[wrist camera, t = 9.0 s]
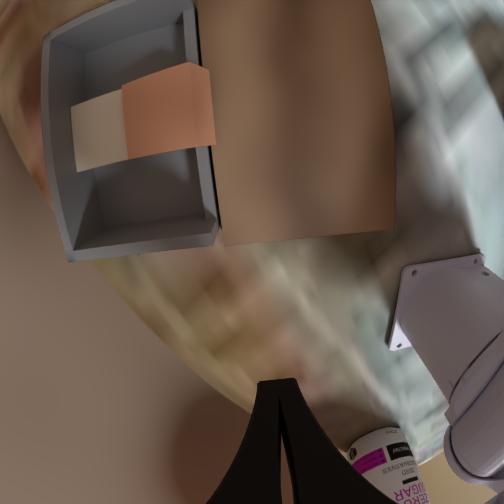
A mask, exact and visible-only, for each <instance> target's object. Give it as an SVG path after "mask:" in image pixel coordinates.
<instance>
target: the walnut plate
mask: <svg viewBox="0 0 504 504" xmlns="http://www.w3.org/2000/svg"><path fill="white" fill-rule="evenodd" d="M197 9H198V22H199V34H200V45H201V56H202V67H204V68H206V69H208V70H209V73H210V85H211V96H212V107H213V117H214V127H215V137H216V145H211V149H212V157H213V165H214V172H215V180H216V188H217V195H218V203H219V210H220V217H221V224H222V231H223V238H224V245H225V246H232V245H241V244H251V243H261V242H271V241H280V240H290V239H300V238H310V237H321V236H331V235H341V234H352V233H362V232H373V231H384V230H395V209H396V157H395V137H394V123H393V112H392V103H391V95H390V87H389V80H388V74H387V68H386V62H385V57H384V52H383V47H382V42H381V37H380V33H379V29H378V25H377V21H376V17H375V13H374V10H373V6H372V3H371V0H197Z"/></svg>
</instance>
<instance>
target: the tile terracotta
mask: <svg viewBox="0 0 504 504" xmlns="http://www.w3.org/2000/svg"><path fill="white" fill-rule="evenodd" d="M122 103H123V116H124V127H125V137H126V146H127V154H128V160H129V159H134V158H140V157H145V156H151V155H156V154H161V153H166V152H172V151H178V150H184V149H190V148H197V147H203V146H211V145H216V137H215V127H214V117H213V107H212V96H211V85H210V73H209V70H208V69H206V68H204V67H201V66H199V65H197V64H194V63H192V62H187V63H183V64H180V65H177V66H174V67H170V68H167V69H164V70H161V71H158V72H155V73H153V74H150V75H147V76H144V77H142V78H139V79H136V80H134V81H131V82H129V83H127V84H124V85H122Z"/></svg>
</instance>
